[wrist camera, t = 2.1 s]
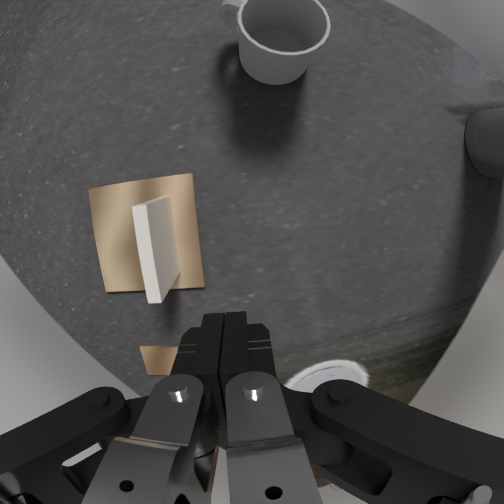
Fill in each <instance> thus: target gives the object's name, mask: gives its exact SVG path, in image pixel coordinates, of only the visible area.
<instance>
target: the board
mask: <svg viewBox="0 0 504 504" xmlns="http://www.w3.org/2000/svg"><path fill="white" fill-rule="evenodd" d="M88 191H89V200H90V207H91V215H92V222H93V228H94V234H95V240H96V246H97V251H98V256H99V261H100V266H101V271H102V275H103V280H104V284H105V288H106V292H116V291H140V290H145V285H144V280H143V275H142V269H141V264H140V258H139V252H138V246H137V240H136V233H135V226H134V219H133V212H132V206H135V205H138V204H140V203H143V202H146V201H149V200H152V199H155V198H158V197H163V196H171V201H172V210H173V219H174V227H175V235H176V243H177V250H178V257H179V264H180V273H179V274H178V276H177V278H176V279H175V281H174V283H173V284H172V286H171V288H170V289H179V288H196V287H205V279H204V271H203V263H202V255H201V247H200V238H199V229H198V220H197V210H196V200H195V189H194V178H193V173H190V174H182V175H173V176H166V177H158V178H151V179H144V180H138V181H131V182H125V183H119V184H113V185H107V186H102V187H97V188H91V189H88Z"/></svg>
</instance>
